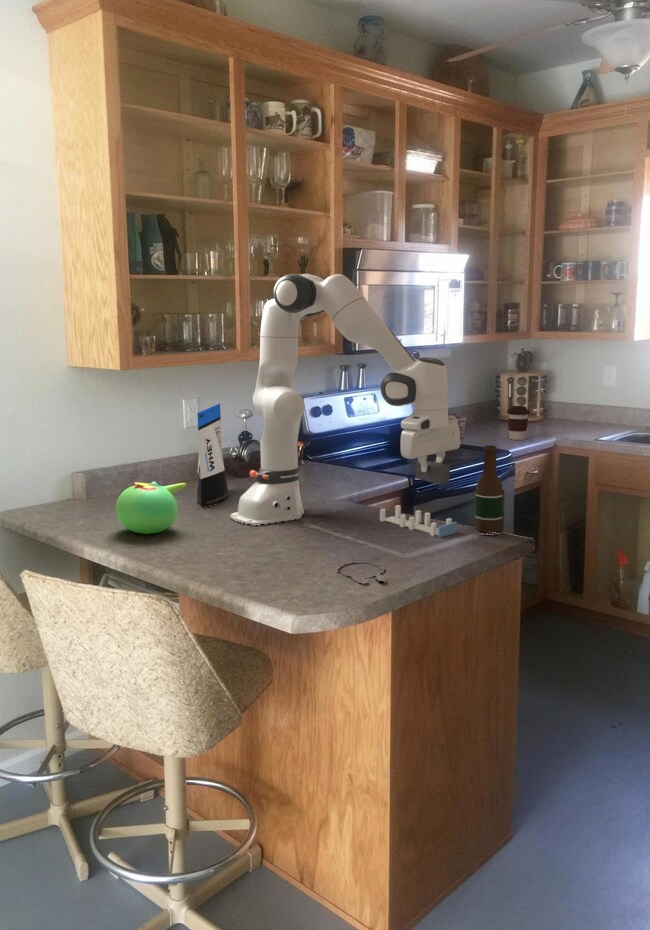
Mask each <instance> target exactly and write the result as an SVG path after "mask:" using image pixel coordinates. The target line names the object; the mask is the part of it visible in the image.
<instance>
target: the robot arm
mask: <svg viewBox="0 0 650 930" xmlns="http://www.w3.org/2000/svg"><path fill="white" fill-rule="evenodd" d="M324 312H325V313H326V315H327V316H328V317H329V318H330V321H331V322H332V323H333V324H334V326H335V328H336V329H337V331H339V333H340V334H341V335H342V336H343V337H344V338H345V339H346V340H347V341H349V342H351V343H354V344H359V345H363V346H367V347H368V348H371V349H373V350H375V351H377V352H378V353H379V354H380V355H381V356H382V357H383V358H384V359H385V361H386V362H387V363H388V365H389V366H390V368H392V370H393V371H392V372H391V371H390V372H389V373H387V374H386V375H385V376H384V377H383V378H382V380H381V382H380V383H381V384H380V393H381V396H382V398H383V400H384V401H385V402H386V403H387V404H388V405H390V406H394V407H403V406H406V405H407V406H408V405H413V406H414V412H412V413H411V414H410V415H408V416H406V417H405V418H404V419H402V420H401V422H400V428H401V429H403V430H402V431H401V433H400V455H401V456H402V457H403V458H404V459H409V460H413V459H417V462H419V463H420V465H421V471H422V472H427V471H429V470H430V469H429V467H430V465H427V463H426V460H427V459H428V456H430V455H432V456H433V455H436V459H435V461H434V462H435V463H439V464H443V462H444V459H445V457H446V452H448V451H453V450H458V449H459V448H460V446H461V433H460V426H459V425H458V422H459V421H458V418H456V416H454V415H449V406H448V405H449V404H448V403H447V397H448V392H449V387H448V385H449V384H448V383H449V382H448V371H447V367H446V364H445V363H444V362H443V361H442V360H440V359H438V358H435V357H419V358H417V359H415V358H414V357H413V356H412V354H411V353H410V352H409V351H408V350H407V348H406V347H405V346H404V345H403V344H402V342H401V341H400V340H399V339H398V337H397V336H396V335H395V333H394V332H393V331H392V330H391V329H390V328H389V326H387V325H386V323H384V321H383V320H382V319H381V318H380V317H379V315H378V314H377V313H376V311H375V310H374V309H373V307H372V306H371V304H370V303H369V302H368V300H367V299H366V298H365V296H364V295H363V294H362V292H361V291H360V290H359V288H358V287H357V286H356V285H355V283H353V281H351V280H350V279H349V278H348V277H347V276H345V274H341V273H335V274H331V275H330V276H328V277H326V278H325V277H323V276H320V275H314V274H310V273H302V274H301V273H299V274H298V273H289V274H285V275H284V276H282V277H280V278H279V279H278V280H277V281H276V283H275V285H274V288H273V298H271V299H270V300H268V301H267V302H266V303H265V304H264V306H263V311H262V317H261V322H260V323H261V324H260V335H259V336H260V337H259V339H260V340H259V343H260V344H259V345H260V346H259V363H258V365H259V366H258V372H257V376H256V377H257V378H256V383H255V390H254V392H253V394H252V405H253V406H254V409H255V411H256V412H257V413H258V415H259V416H260V417H262V418H264V425H263V432H262V436H261V439H260V443H259V445H260V446H259V449H260V467H259V469H258V471H257V470H254V469H253V470H250V471H249V476H250V478H255V479H256V481H254V483H253V484H252V485H251V486H250V487H249V488H248V489H247V490H246V491H245V492H244V493H243V494H242V495H241V496H240V497H239V500H238V505H237V511H236V512H233V513H231V514H230V519H231V518H232V519H233V520H232V519H231V520H232V521H234V520H235V521H234V522H237V521H238V522H237V523H239V522H241V523H240V524H243V523H245V524H244V525H247V524H251V525H250V526H256V525H257V526H262V525H261V524H264V525H269V524H268V523H271V524H275V522H277V523H282V522H281V521H284V522H288V521H289V520H290V521H295V519H296V520H301V519H302V517H303V515H304V514H305V511H304V508H303V504H302V503H303V502H302V500H301V499H302V498H301V495H300V493H301V492H300V487H299V481H300V467H299V466H298V465H299V464H298V463H299V461H298V459H299V458H298V442H299V440H298V439H299V433H300V426H301V420H302V418H303V415H304V412H305V409H306V406H305V401H304V399H303V397H302V396H301V395H300V394H299V392H298V391H297V390H296V389H294V388H292V386H293V385H292V383H293V379H294V375H295V371H296V368H297V367H298V364H299V363H298V362H299V359H298V357H299V355H298V354H299V324H300V321H301V319H302V318H303V317H306V318H309V317H311V316H312V317H313V316H315V315H318V314H321V313H324ZM300 518H301V519H300Z"/></svg>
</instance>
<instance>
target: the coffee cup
mask: <svg viewBox="0 0 650 930" xmlns="http://www.w3.org/2000/svg"><path fill="white" fill-rule="evenodd" d="M506 413H507V414H508V417H507V423H508V425H507V426H508V438H509V440H511V439H512V441H525V440H526V436H527V429H528V423H529V415H530V410H529V409H528V408H527V407H526V406H525V405H524V406H523V405H512V406H510V408H508V409H507V410H506ZM524 439H525V440H524Z"/></svg>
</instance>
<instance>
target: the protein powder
mask: <svg viewBox="0 0 650 930" xmlns="http://www.w3.org/2000/svg"><path fill="white" fill-rule="evenodd" d="M196 414H197V415H196V416H197V435H198V463H197V464H198V465H197V477H196V478H197V480H196V481H197V485H196V486H197V487H196V488H197V489H196V493H197V494H196V495H197V496H196V503H197V505H198V504H199V505H200V506H199V505H198V506H199V507H201V506H202V507H203V508H205V507H204V506H207V507H210V506H209V505H212V506H215V505H214V504H216V505H218V504H217V503H219V504H221V503H224V502H225V501H227V500H228V499H229V497H230V496H229V489H228V483H227V476H226V470H225V469H226V468H225V464H224V454H223V445H222V444H223V441H222V440H223V439H222V437H223V436H222V416H221V415H222V414H221V403H220V402H219V403H217V404H214V405H212V406H209V407H208V408H205V409H203V410H201V411H199V412H196ZM227 498H228V499H227ZM226 499H227V500H226ZM220 502H221V503H220ZM202 507H201V508H202Z"/></svg>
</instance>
